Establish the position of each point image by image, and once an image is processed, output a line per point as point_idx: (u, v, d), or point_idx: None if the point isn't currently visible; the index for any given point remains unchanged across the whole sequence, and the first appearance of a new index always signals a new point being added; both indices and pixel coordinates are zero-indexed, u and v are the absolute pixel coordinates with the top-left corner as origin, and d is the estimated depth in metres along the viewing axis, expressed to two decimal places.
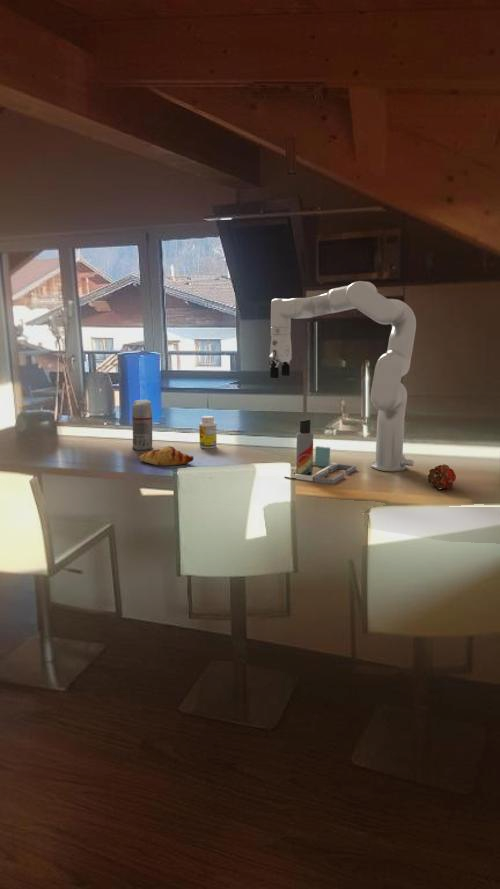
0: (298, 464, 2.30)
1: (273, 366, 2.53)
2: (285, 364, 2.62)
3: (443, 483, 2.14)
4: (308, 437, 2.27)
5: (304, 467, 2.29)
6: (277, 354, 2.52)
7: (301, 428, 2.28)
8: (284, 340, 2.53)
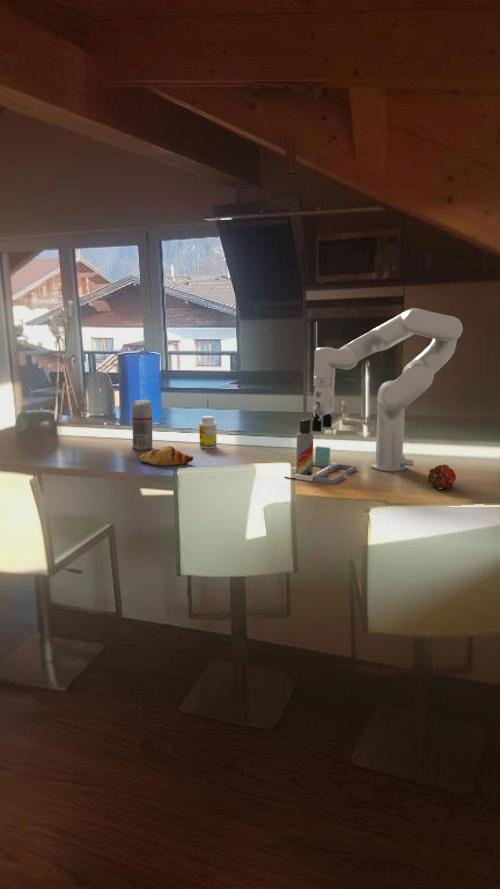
0: (298, 464, 2.30)
1: (316, 419, 2.38)
2: (327, 415, 2.47)
3: (443, 483, 2.14)
4: (308, 437, 2.27)
5: (304, 467, 2.29)
6: (320, 406, 2.37)
7: (301, 428, 2.28)
8: (328, 391, 2.39)
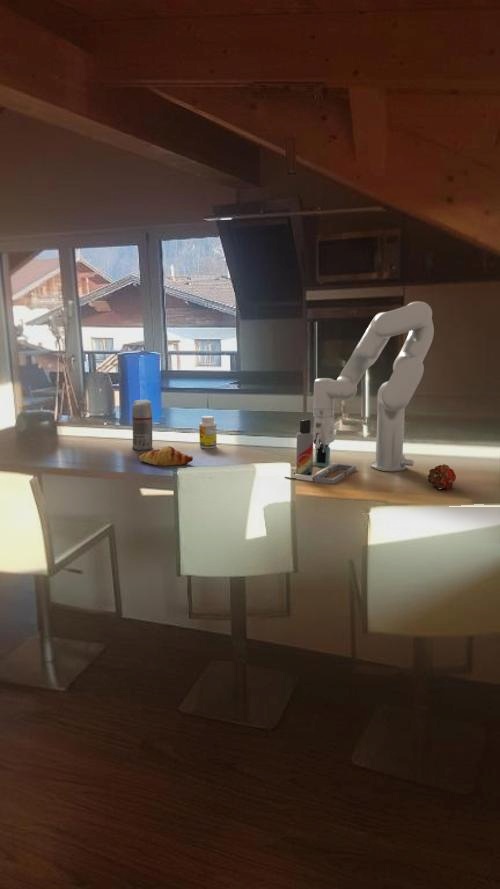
0: (298, 464, 2.30)
1: (320, 451, 2.44)
2: None
3: (443, 483, 2.14)
4: (308, 437, 2.27)
5: (304, 467, 2.29)
6: (321, 437, 2.40)
7: (301, 428, 2.28)
8: (328, 422, 2.41)
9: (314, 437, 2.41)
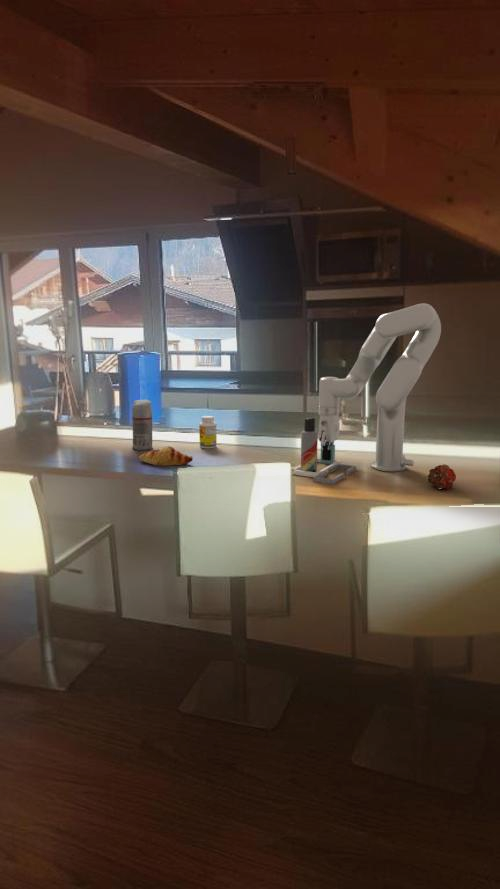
0: (303, 462, 2.34)
1: (325, 449, 2.48)
2: None
3: (443, 483, 2.14)
4: (312, 435, 2.31)
5: (308, 465, 2.33)
6: (326, 435, 2.44)
7: (306, 426, 2.31)
8: (333, 420, 2.45)
9: (320, 435, 2.45)
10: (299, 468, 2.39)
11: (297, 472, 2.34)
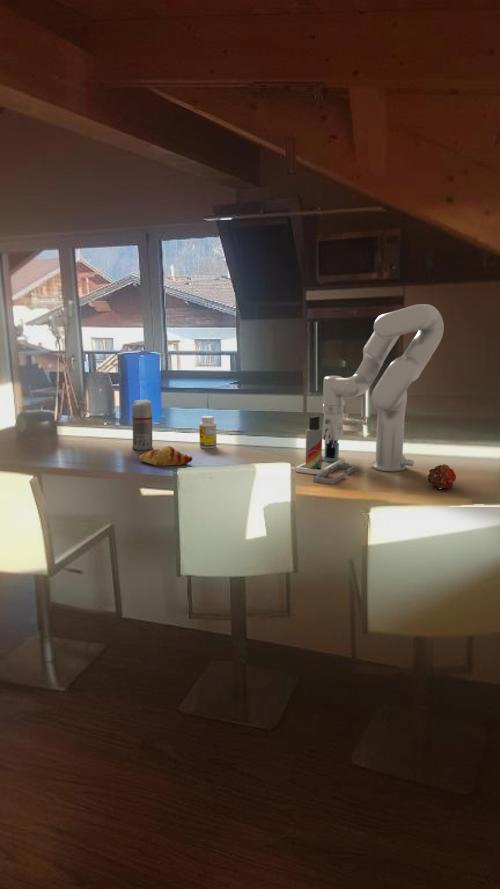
0: (307, 459, 2.37)
1: (329, 447, 2.51)
2: None
3: (443, 483, 2.14)
4: (317, 434, 2.34)
5: (313, 462, 2.36)
6: (330, 433, 2.47)
7: (310, 424, 2.35)
8: (337, 418, 2.49)
9: (324, 433, 2.49)
10: (303, 466, 2.43)
11: (302, 470, 2.37)
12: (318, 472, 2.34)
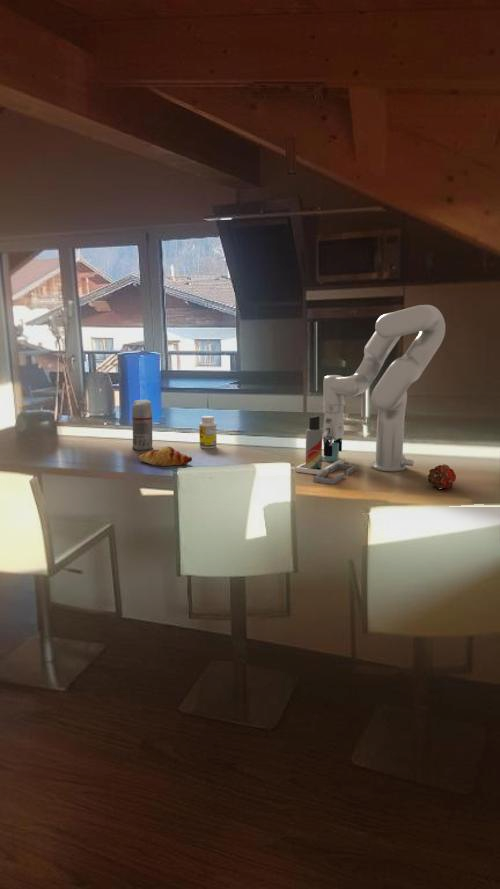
0: (307, 459, 2.37)
1: (327, 444, 2.48)
2: (337, 439, 2.57)
3: (443, 483, 2.14)
4: (317, 434, 2.34)
5: (313, 462, 2.36)
6: (331, 432, 2.47)
7: (310, 424, 2.35)
8: (338, 417, 2.48)
9: (324, 432, 2.49)
10: (304, 466, 2.43)
11: (302, 470, 2.37)
12: (318, 472, 2.34)
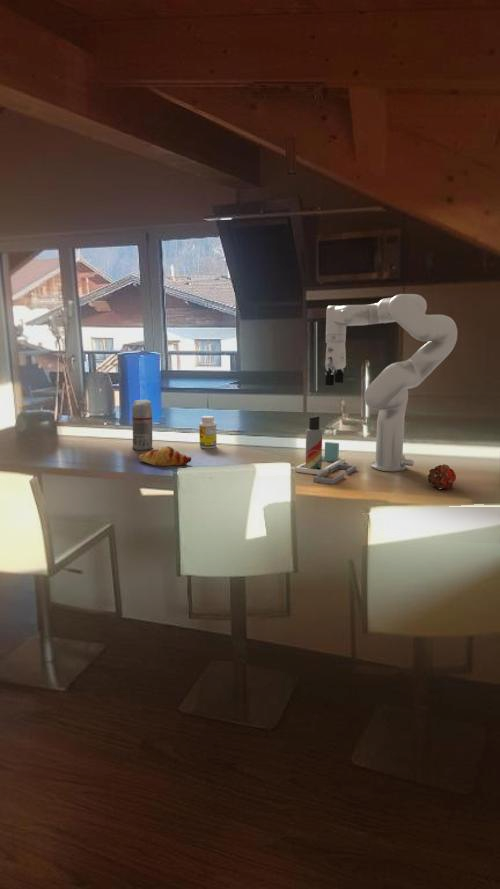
0: (307, 459, 2.37)
1: (329, 373, 2.51)
2: (339, 371, 2.61)
3: (443, 483, 2.14)
4: (317, 434, 2.34)
5: (313, 462, 2.36)
6: (333, 361, 2.51)
7: (310, 424, 2.35)
8: (340, 347, 2.52)
9: (326, 361, 2.52)
10: (304, 466, 2.43)
11: (302, 470, 2.37)
12: (318, 472, 2.34)
